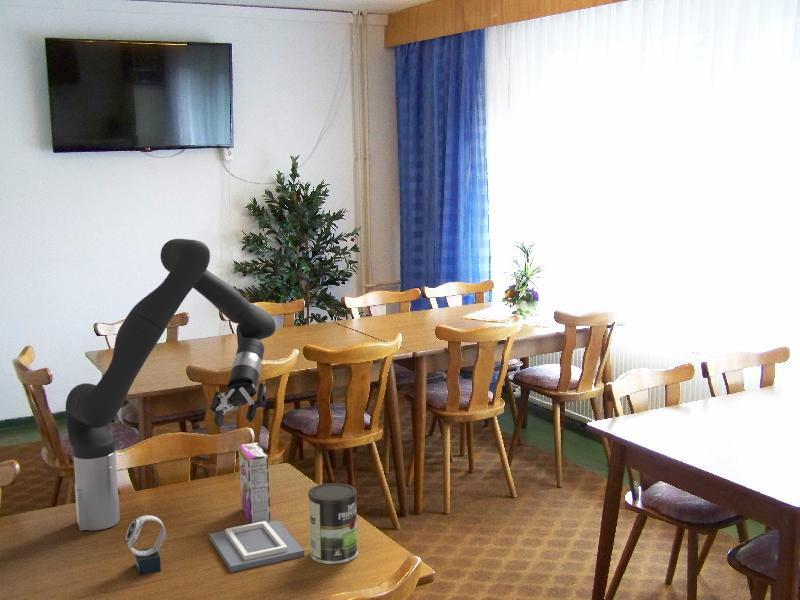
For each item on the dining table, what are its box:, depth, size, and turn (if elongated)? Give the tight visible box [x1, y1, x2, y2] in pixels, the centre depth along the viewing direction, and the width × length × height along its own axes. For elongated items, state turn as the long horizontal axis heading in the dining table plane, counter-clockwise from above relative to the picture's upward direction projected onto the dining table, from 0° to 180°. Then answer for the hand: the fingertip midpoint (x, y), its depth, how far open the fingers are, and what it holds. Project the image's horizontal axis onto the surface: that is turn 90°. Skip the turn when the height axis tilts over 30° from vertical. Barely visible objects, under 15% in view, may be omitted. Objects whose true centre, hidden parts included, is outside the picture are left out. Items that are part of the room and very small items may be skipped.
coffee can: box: [307, 482, 359, 565], centre depth 180 cm, size 10×10×14 cm
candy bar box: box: [237, 442, 271, 524], centre depth 200 cm, size 11×5×16 cm, turn 23°
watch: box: [124, 514, 167, 576], centre depth 174 cm, size 6×8×11 cm
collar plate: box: [209, 519, 305, 573], centre depth 184 cm, size 16×18×2 cm
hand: (233, 422), depth 208 cm, fingers open, 8 cm apart
